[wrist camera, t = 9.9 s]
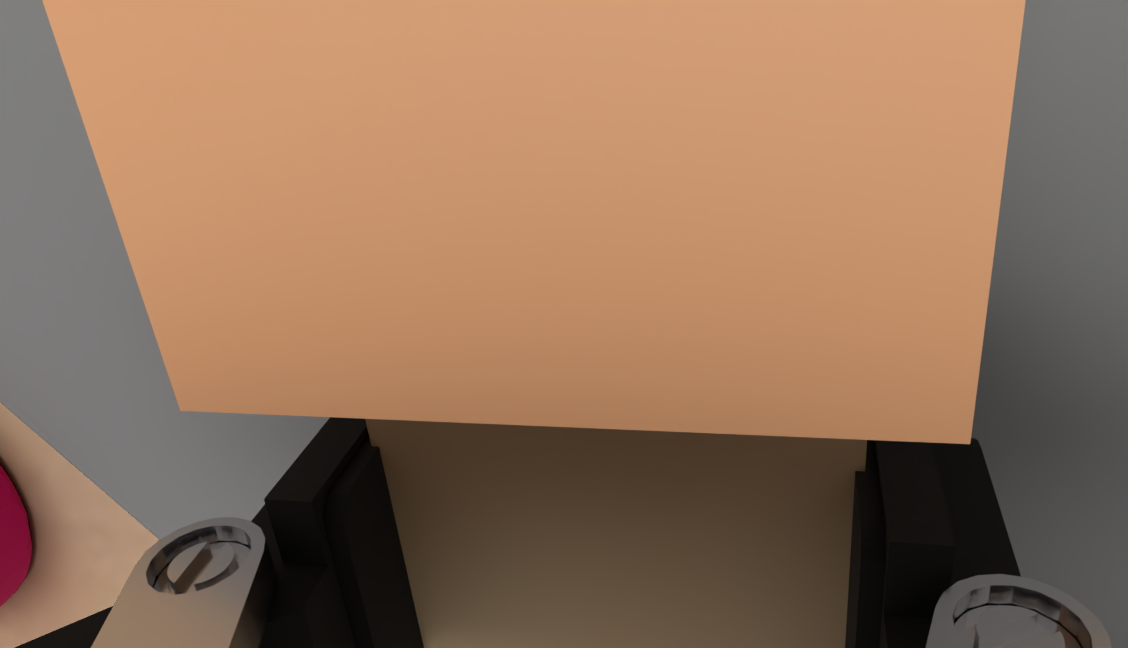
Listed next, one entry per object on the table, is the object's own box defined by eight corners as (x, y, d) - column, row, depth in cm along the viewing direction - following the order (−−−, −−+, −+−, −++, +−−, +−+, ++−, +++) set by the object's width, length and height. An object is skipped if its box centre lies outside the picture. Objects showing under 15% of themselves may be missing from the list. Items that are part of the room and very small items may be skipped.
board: (2019, 952, 13) (2070, 998, 12) (871, 1125, 22) (873, 1156, 21) (638, -1323, 7) (626, -1416, 6) (-185, 201, 16) (-220, 212, 15)
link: (903, 960, 16) (923, 1168, 14) (483, 888, 18) (432, 1059, 16) (1041, -163, 8) (1149, -166, 6) (271, -83, 10) (96, -60, 8)
